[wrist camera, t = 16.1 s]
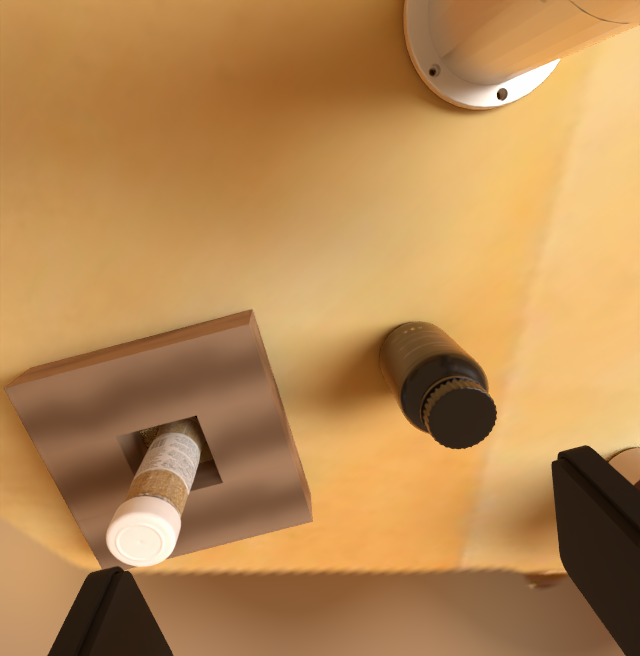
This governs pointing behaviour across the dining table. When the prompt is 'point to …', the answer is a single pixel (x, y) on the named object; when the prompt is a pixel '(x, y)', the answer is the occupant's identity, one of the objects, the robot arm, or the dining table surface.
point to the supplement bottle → (437, 385)
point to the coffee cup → (628, 465)
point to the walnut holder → (164, 407)
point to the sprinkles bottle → (157, 496)
